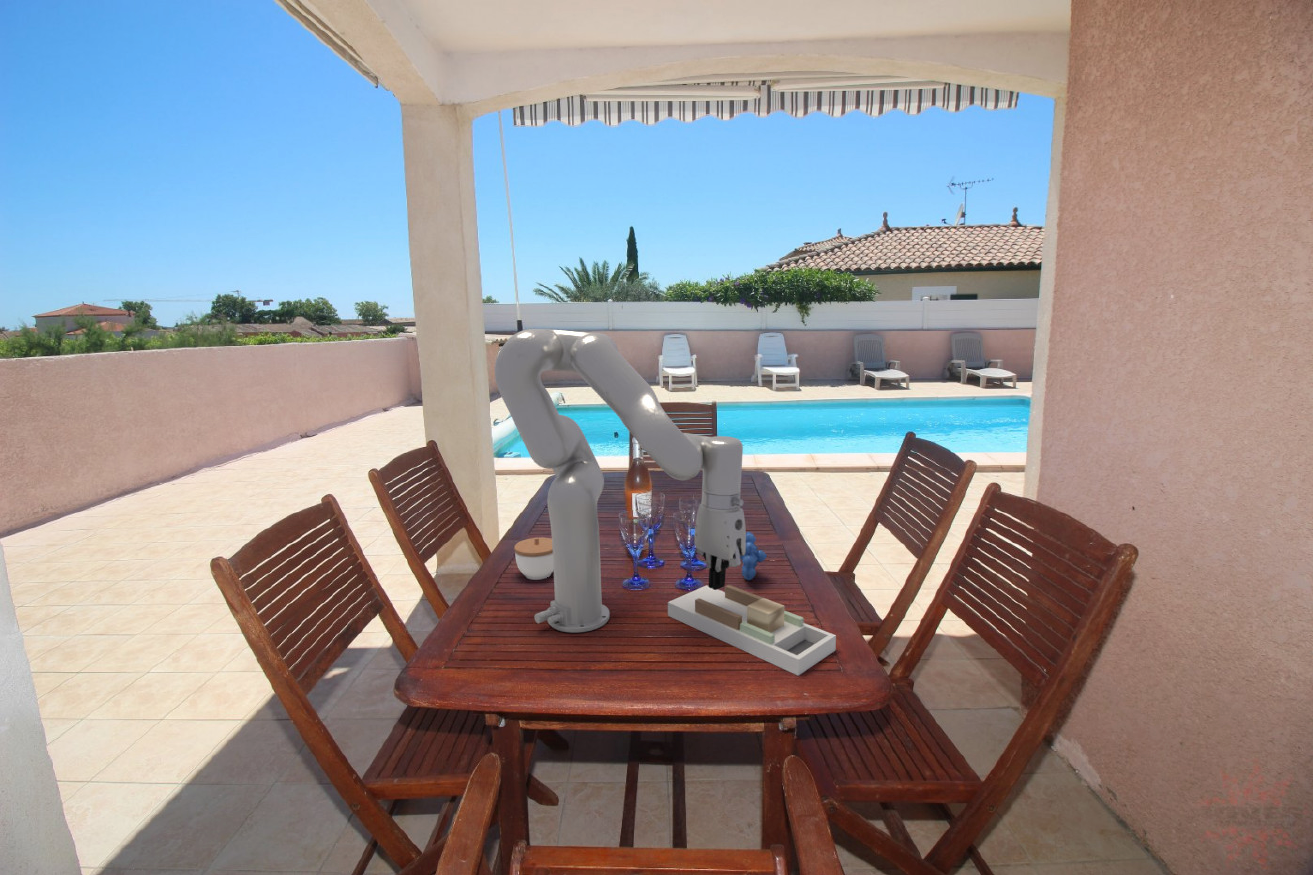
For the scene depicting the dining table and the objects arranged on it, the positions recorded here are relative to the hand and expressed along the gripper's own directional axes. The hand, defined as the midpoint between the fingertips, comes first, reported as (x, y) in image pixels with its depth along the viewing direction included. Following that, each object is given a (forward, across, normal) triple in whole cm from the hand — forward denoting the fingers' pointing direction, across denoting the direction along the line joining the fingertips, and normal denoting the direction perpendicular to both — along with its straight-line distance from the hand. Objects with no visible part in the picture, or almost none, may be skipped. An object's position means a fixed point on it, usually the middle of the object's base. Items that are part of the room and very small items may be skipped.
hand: (716, 586), depth 127 cm
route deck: (+7, -7, -1) cm, 10 cm away
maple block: (+4, -12, -1) cm, 12 cm away
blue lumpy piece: (+7, +8, -22) cm, 24 cm away
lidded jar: (+10, +46, +12) cm, 49 cm away
